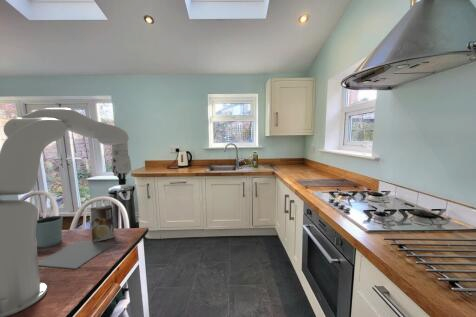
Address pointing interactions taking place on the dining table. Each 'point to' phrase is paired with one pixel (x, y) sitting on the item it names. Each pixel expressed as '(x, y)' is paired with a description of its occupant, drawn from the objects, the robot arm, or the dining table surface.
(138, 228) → the dining table surface
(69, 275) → the dining table surface
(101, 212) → the coffee box
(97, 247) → the mat
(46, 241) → the teal planter pot
